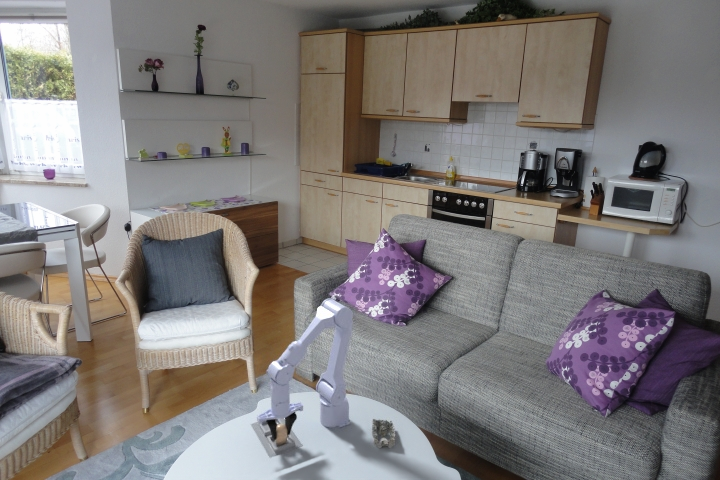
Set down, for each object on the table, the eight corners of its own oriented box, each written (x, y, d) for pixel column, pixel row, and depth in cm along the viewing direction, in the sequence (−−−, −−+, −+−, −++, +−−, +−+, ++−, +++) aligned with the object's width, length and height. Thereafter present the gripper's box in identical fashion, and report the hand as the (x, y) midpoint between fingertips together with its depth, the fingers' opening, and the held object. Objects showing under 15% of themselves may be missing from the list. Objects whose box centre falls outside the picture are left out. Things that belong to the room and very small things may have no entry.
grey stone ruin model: (395, 449, 152) (396, 438, 151) (371, 448, 152) (372, 437, 151) (393, 427, 162) (394, 417, 161) (371, 426, 162) (372, 416, 161)
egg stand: (281, 416, 165) (281, 411, 165) (302, 448, 151) (302, 442, 150) (250, 426, 160) (250, 421, 159) (269, 460, 145) (269, 454, 145)
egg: (284, 434, 154) (284, 419, 152) (289, 441, 150) (289, 426, 149) (272, 438, 152) (272, 423, 150) (277, 446, 148) (277, 430, 147)
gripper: (296, 385, 154) (297, 421, 157) (253, 397, 147) (254, 435, 150) (305, 396, 148) (305, 433, 152) (261, 410, 141) (262, 449, 144)
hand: (280, 435), depth 151 cm, fingers closed on egg, 4 cm apart
